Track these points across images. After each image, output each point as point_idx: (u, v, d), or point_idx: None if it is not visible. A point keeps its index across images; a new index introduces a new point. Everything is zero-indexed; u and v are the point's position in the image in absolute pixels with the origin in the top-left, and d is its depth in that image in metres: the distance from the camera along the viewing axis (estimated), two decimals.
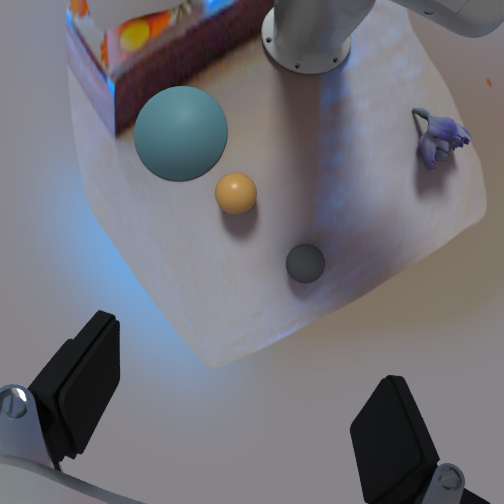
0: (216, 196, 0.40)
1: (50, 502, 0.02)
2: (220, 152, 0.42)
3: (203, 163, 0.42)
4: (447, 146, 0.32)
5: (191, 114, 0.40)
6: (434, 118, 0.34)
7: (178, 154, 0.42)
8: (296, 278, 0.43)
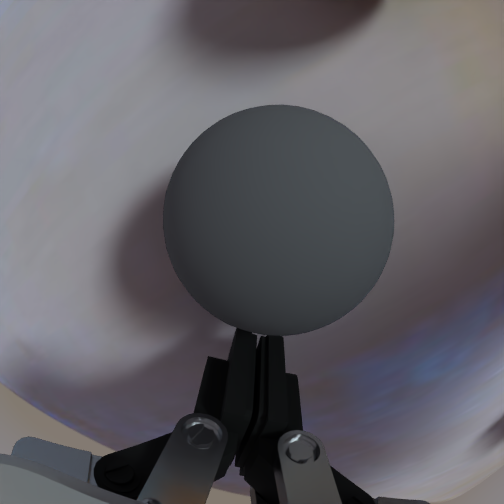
0: None
1: (50, 502, 0.02)
2: None
3: None
4: None
5: None
6: None
7: None
8: None
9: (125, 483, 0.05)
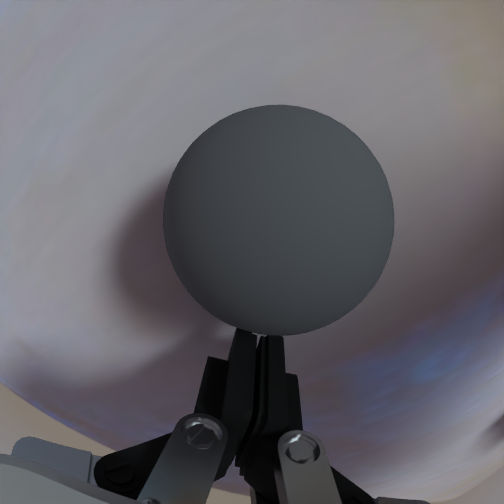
0: None
1: (50, 502, 0.02)
2: None
3: None
4: None
5: None
6: None
7: None
8: None
9: (125, 483, 0.05)
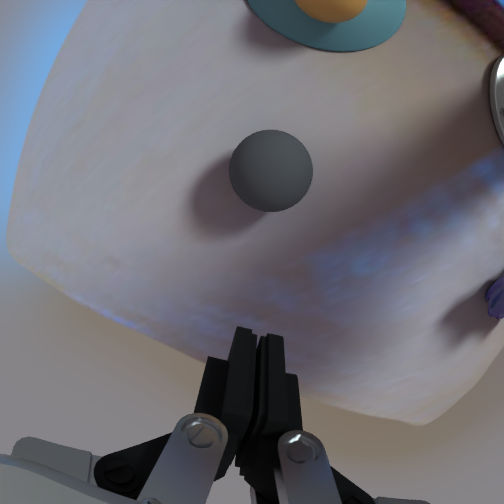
0: None
1: (50, 502, 0.02)
2: (338, 48, 0.19)
3: (305, 31, 0.19)
4: None
5: None
6: None
7: None
8: None
9: (125, 483, 0.05)
